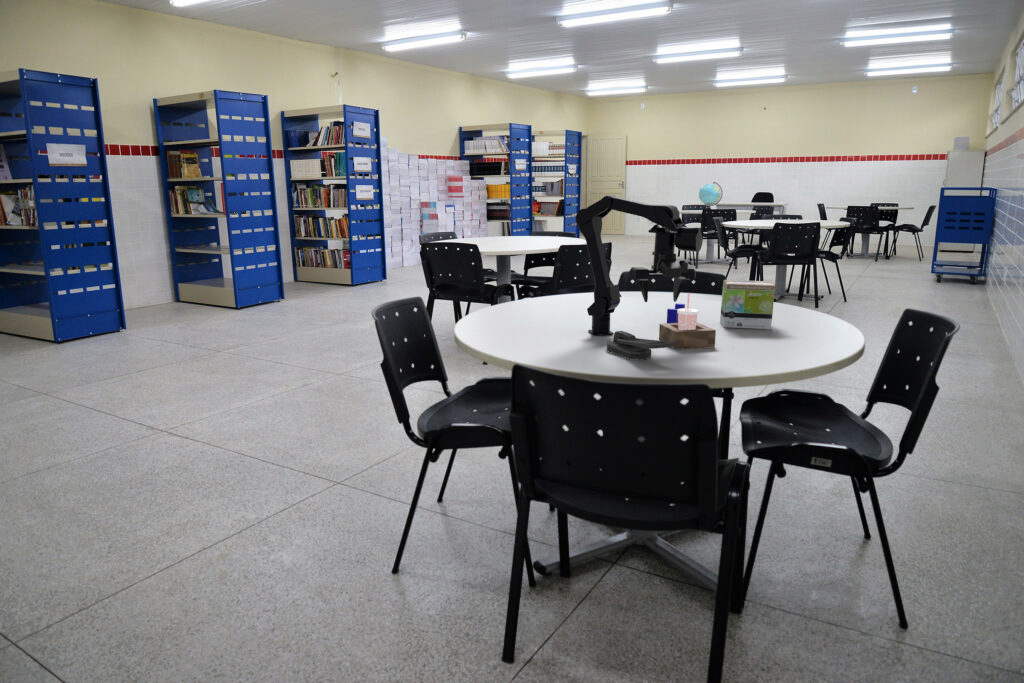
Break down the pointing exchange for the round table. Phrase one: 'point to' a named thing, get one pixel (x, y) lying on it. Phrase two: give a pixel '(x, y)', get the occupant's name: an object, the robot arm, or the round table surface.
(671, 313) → the blue piece
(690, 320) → the beverage cup
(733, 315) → the tea box
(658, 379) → the round table surface
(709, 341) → the walnut well block
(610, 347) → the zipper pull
